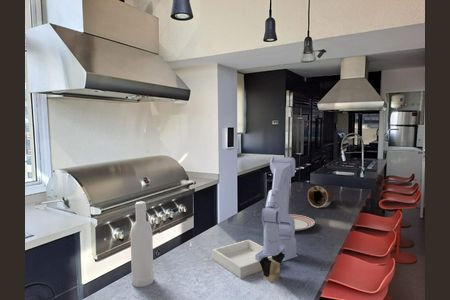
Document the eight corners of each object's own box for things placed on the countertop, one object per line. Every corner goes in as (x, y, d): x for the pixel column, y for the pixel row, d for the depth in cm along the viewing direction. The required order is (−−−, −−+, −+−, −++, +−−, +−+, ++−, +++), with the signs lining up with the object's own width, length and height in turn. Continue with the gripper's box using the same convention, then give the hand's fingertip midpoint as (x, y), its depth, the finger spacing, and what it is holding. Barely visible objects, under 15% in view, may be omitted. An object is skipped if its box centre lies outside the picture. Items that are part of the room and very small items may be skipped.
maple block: (271, 273, 117) (271, 259, 116) (279, 278, 113) (279, 263, 113) (262, 277, 114) (262, 262, 114) (270, 282, 111) (270, 266, 110)
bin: (248, 248, 141) (248, 239, 140) (279, 264, 124) (279, 254, 124) (212, 259, 130) (212, 249, 129) (240, 278, 113) (240, 267, 113)
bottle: (154, 275, 116) (152, 199, 114) (153, 286, 108) (151, 204, 106) (133, 277, 115) (130, 200, 112) (130, 288, 107) (127, 205, 104)
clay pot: (338, 186, 226) (327, 185, 206) (339, 206, 223) (328, 208, 203) (318, 186, 234) (306, 185, 214) (319, 206, 232) (307, 207, 212)
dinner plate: (258, 229, 167) (259, 223, 167) (274, 216, 192) (274, 211, 191) (308, 237, 155) (309, 231, 154) (319, 222, 179) (319, 217, 179)
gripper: (276, 231, 120) (276, 264, 121) (249, 240, 111) (249, 275, 112) (290, 236, 114) (290, 271, 116) (263, 246, 106) (262, 283, 107)
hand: (271, 273), depth 114 cm, fingers closed on maple block, 5 cm apart
